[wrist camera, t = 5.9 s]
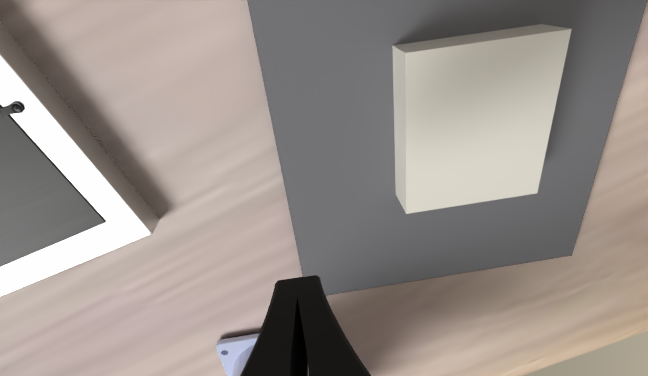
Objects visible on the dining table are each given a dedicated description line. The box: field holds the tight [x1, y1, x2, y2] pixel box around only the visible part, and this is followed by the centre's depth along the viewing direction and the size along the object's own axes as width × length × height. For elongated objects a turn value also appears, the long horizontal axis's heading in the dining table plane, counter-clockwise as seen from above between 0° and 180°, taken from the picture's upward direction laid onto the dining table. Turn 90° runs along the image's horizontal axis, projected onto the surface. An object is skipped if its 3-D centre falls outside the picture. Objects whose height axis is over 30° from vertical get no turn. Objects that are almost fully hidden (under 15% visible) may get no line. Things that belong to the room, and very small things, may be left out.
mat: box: [247, 0, 647, 296], centre depth 19 cm, size 22×18×1 cm
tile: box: [392, 24, 572, 214], centre depth 18 cm, size 8×2×7 cm
